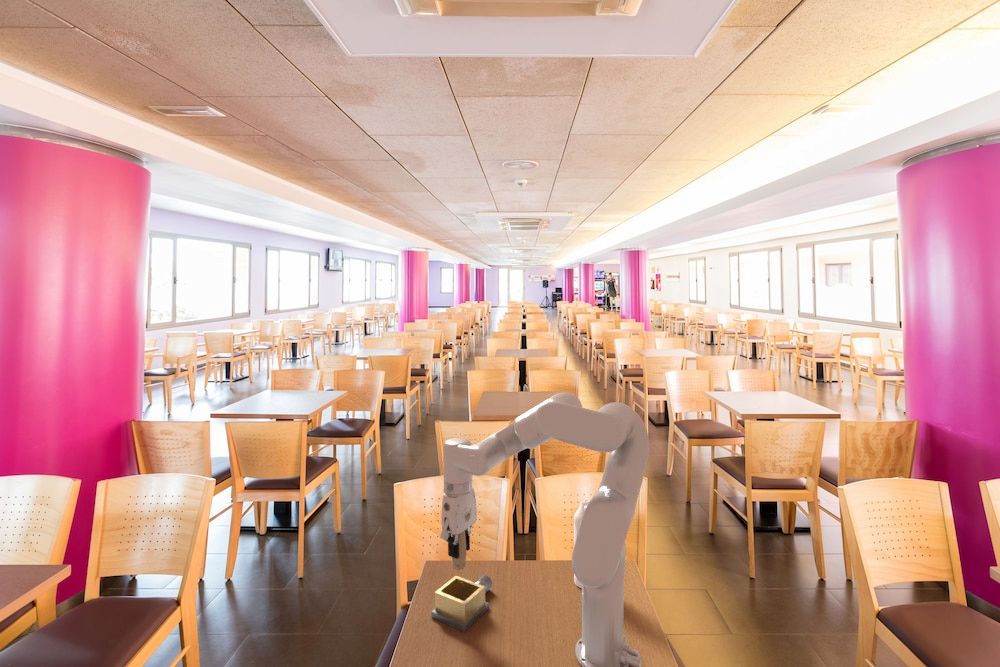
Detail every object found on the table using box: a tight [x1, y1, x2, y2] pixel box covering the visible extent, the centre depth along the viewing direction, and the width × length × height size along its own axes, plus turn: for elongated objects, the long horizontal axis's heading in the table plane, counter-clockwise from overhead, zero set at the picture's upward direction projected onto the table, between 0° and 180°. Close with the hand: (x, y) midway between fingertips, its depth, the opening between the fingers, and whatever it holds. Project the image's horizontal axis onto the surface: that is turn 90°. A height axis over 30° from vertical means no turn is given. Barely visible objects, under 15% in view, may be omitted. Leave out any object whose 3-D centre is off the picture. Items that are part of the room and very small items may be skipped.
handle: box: [451, 514, 470, 571], centre depth 126 cm, size 5×6×15 cm
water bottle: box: [573, 499, 590, 589], centre depth 138 cm, size 9×6×25 cm
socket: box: [431, 574, 493, 633], centre depth 130 cm, size 11×18×6 cm, turn 147°
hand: (459, 552), depth 126 cm, fingers closed on handle, 4 cm apart
